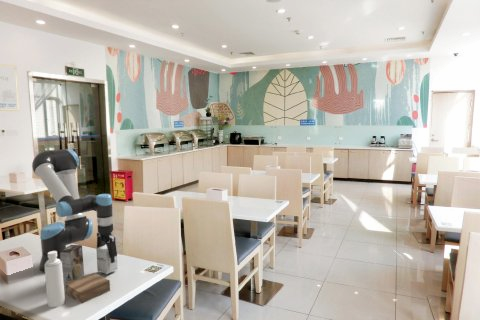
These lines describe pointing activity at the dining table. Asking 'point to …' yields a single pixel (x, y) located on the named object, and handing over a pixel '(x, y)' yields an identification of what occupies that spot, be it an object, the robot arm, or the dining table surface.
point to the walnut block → (87, 287)
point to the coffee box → (72, 262)
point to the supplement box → (104, 260)
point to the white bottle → (54, 280)
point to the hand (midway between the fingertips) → (107, 266)
